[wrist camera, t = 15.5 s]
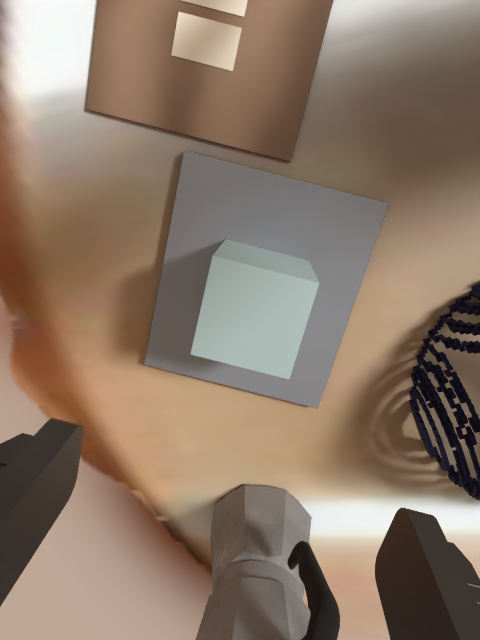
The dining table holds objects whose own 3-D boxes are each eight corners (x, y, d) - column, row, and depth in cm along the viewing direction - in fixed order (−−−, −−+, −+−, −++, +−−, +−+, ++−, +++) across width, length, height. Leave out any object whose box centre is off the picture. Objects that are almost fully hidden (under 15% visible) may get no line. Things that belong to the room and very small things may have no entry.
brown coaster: (357, -94, 24) (359, -98, 24) (290, 161, 29) (290, 161, 28) (118, -157, 24) (116, -162, 24) (88, 109, 29) (85, 108, 28)
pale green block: (309, 260, 30) (319, 283, 23) (285, 337, 32) (289, 379, 25) (225, 239, 30) (212, 255, 23) (207, 317, 32) (190, 354, 25)
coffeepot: (270, 592, 41) (269, 890, 24) (182, 551, 40) (115, 828, 23) (359, 476, 36) (438, 743, 19) (261, 427, 35) (251, 659, 18)
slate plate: (385, 202, 29) (388, 203, 28) (316, 403, 34) (317, 408, 33) (186, 151, 29) (184, 150, 28) (147, 360, 34) (144, 364, 33)
